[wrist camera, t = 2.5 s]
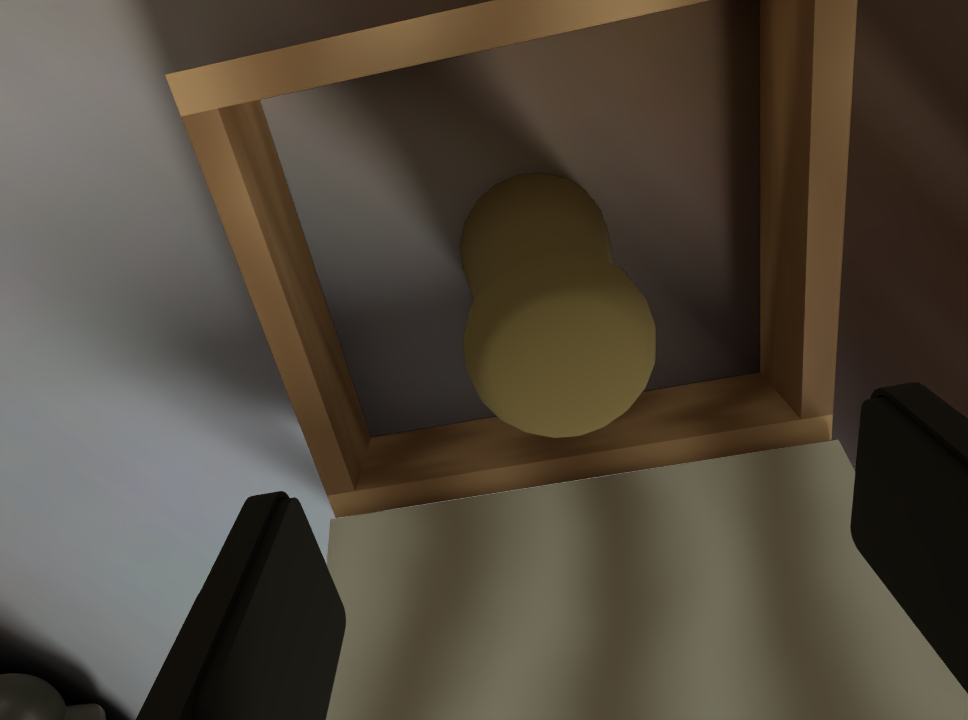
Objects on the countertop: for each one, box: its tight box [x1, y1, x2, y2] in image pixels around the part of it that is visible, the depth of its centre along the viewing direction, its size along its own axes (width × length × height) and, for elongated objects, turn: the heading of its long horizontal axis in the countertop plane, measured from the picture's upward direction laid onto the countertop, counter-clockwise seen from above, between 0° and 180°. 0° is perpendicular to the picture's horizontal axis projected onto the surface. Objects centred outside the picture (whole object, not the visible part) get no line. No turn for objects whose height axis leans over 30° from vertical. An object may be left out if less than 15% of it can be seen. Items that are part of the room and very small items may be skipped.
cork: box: [460, 173, 656, 438], centre depth 20 cm, size 6×6×11 cm
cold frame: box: [165, 0, 968, 720], centre depth 18 cm, size 20×25×21 cm
